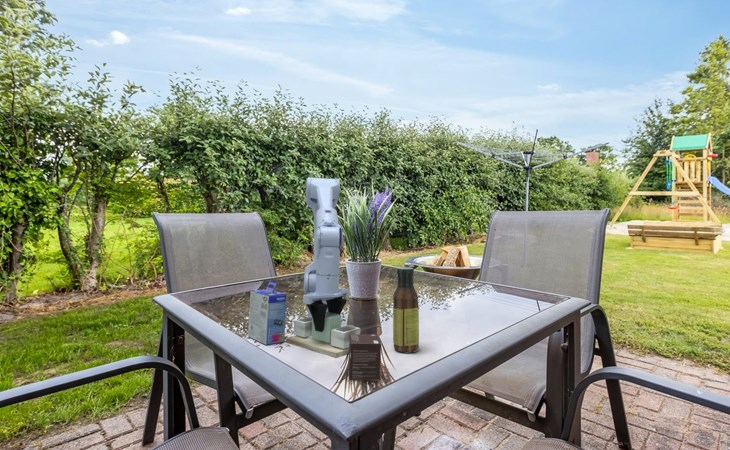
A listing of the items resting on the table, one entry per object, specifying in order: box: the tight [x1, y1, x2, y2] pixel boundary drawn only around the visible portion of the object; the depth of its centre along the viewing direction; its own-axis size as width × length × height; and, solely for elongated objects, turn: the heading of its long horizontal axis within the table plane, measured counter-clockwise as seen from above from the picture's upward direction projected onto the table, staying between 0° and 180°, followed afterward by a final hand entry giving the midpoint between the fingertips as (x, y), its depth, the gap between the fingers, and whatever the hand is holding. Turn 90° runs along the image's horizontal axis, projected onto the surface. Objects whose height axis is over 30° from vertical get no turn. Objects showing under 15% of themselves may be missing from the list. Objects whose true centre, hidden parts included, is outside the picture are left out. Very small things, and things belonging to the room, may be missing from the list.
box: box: [347, 333, 382, 382], centre depth 76 cm, size 6×6×7 cm
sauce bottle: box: [392, 266, 420, 353], centre depth 92 cm, size 7×6×20 cm
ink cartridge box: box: [247, 281, 287, 346], centre depth 97 cm, size 10×6×14 cm, turn 44°
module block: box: [312, 311, 342, 343], centre depth 95 cm, size 4×6×6 cm, turn 52°
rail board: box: [285, 317, 361, 359], centre depth 95 cm, size 11×17×5 cm, turn 52°
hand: (326, 328), depth 95 cm, fingers open, 4 cm apart
